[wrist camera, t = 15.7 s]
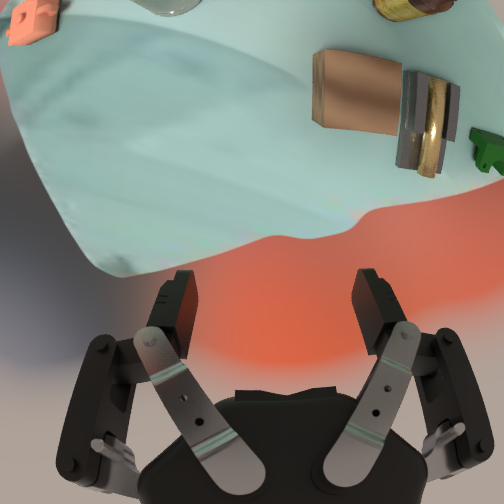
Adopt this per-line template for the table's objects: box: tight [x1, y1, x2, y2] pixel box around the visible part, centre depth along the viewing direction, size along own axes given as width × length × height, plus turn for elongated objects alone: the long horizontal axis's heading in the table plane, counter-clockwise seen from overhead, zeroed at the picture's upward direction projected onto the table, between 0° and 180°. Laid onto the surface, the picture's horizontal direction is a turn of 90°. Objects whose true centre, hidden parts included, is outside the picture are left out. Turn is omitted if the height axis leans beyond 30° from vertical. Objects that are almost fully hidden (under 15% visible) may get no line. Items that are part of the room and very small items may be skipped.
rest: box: [395, 71, 460, 174], centre depth 32 cm, size 16×9×4 cm, turn 1°
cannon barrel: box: [417, 77, 447, 178], centre depth 31 cm, size 16×3×3 cm, turn 1°
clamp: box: [470, 128, 504, 176], centre depth 32 cm, size 12×6×9 cm, turn 89°
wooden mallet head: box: [312, 49, 402, 136], centre depth 29 cm, size 10×10×8 cm
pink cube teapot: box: [6, 0, 60, 46], centre depth 19 cm, size 8×12×8 cm, turn 87°
